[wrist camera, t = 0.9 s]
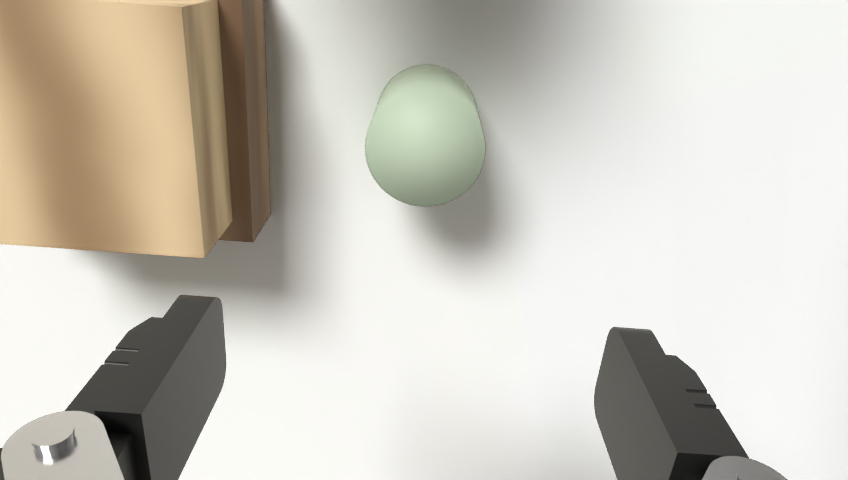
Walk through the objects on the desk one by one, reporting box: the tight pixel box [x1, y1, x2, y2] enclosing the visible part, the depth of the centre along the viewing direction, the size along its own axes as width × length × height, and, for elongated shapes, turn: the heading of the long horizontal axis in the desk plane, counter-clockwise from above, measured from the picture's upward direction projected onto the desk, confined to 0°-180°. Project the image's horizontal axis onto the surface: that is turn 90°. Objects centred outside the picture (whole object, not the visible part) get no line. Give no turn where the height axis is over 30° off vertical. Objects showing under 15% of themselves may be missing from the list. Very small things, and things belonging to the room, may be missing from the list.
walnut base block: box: [218, 0, 271, 242], centre depth 29 cm, size 12×12×4 cm
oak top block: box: [0, 0, 233, 258], centre depth 26 cm, size 10×10×4 cm
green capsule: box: [365, 65, 485, 206], centre depth 28 cm, size 5×5×6 cm
